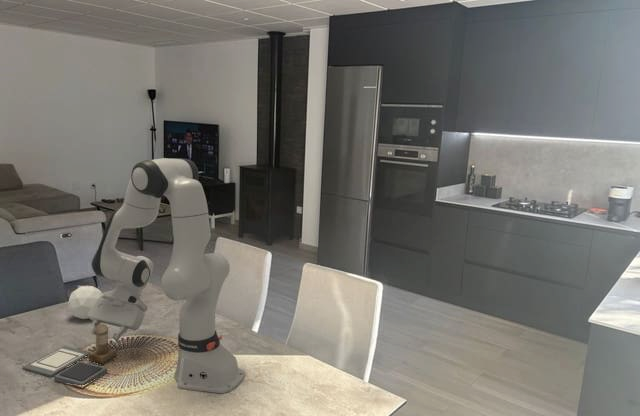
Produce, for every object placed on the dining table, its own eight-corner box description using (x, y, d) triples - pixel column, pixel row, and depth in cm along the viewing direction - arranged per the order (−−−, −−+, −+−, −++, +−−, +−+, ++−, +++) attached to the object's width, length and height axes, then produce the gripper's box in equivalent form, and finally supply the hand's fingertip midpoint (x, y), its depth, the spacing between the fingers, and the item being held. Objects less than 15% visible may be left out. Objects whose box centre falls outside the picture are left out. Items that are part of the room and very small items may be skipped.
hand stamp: (116, 357, 160) (115, 322, 158) (103, 365, 154) (101, 330, 152) (102, 353, 162) (101, 319, 160) (88, 361, 156) (87, 326, 154)
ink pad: (107, 372, 150) (106, 367, 150) (82, 388, 141) (81, 382, 141) (80, 365, 154) (80, 360, 153) (54, 380, 144) (54, 375, 144)
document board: (91, 354, 161) (91, 352, 161) (51, 377, 146) (50, 374, 146) (64, 347, 165) (64, 345, 165) (22, 369, 150) (22, 366, 150)
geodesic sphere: (52, 305, 186) (67, 282, 181) (78, 294, 199) (93, 272, 194) (76, 331, 184) (92, 308, 180) (101, 318, 197) (117, 296, 193)
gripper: (95, 290, 166) (74, 327, 159) (143, 300, 160) (123, 339, 152) (105, 298, 171) (85, 334, 164) (152, 308, 164) (133, 345, 157)
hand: (104, 336), depth 158 cm, fingers open, 8 cm apart
